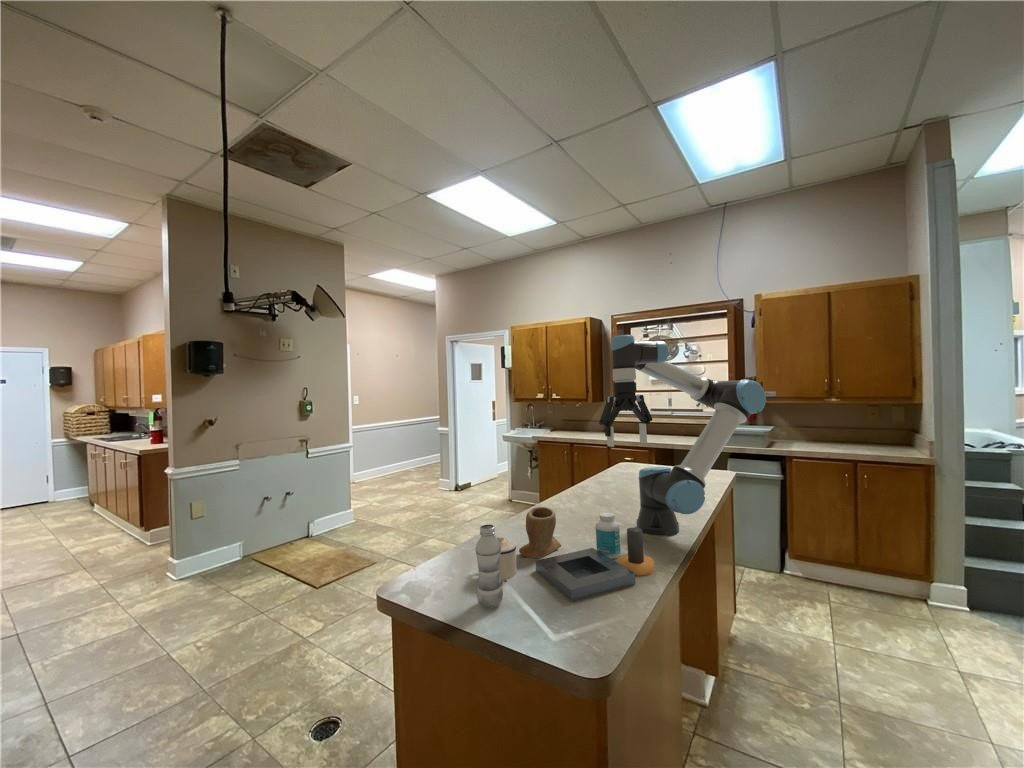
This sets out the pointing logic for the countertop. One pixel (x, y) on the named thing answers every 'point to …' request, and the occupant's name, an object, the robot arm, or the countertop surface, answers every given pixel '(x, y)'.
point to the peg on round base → (636, 554)
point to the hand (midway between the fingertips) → (627, 444)
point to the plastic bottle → (488, 568)
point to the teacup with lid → (507, 559)
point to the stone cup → (540, 533)
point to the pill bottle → (608, 536)
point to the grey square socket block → (584, 574)
